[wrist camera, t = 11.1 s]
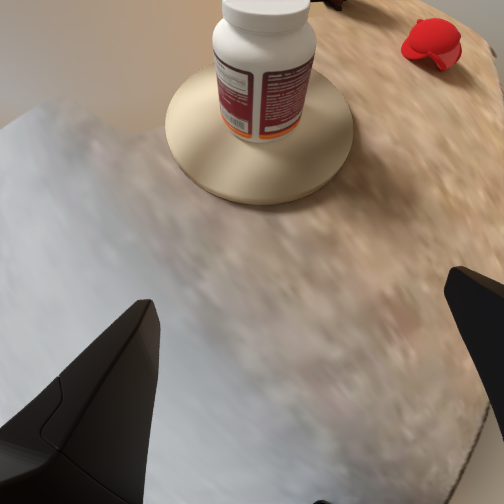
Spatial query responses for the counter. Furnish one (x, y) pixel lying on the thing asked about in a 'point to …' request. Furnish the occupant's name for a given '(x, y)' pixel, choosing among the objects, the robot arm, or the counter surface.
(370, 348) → the counter surface
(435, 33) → the cap
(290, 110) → the pill bottle
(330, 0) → the mate gourd
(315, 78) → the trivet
